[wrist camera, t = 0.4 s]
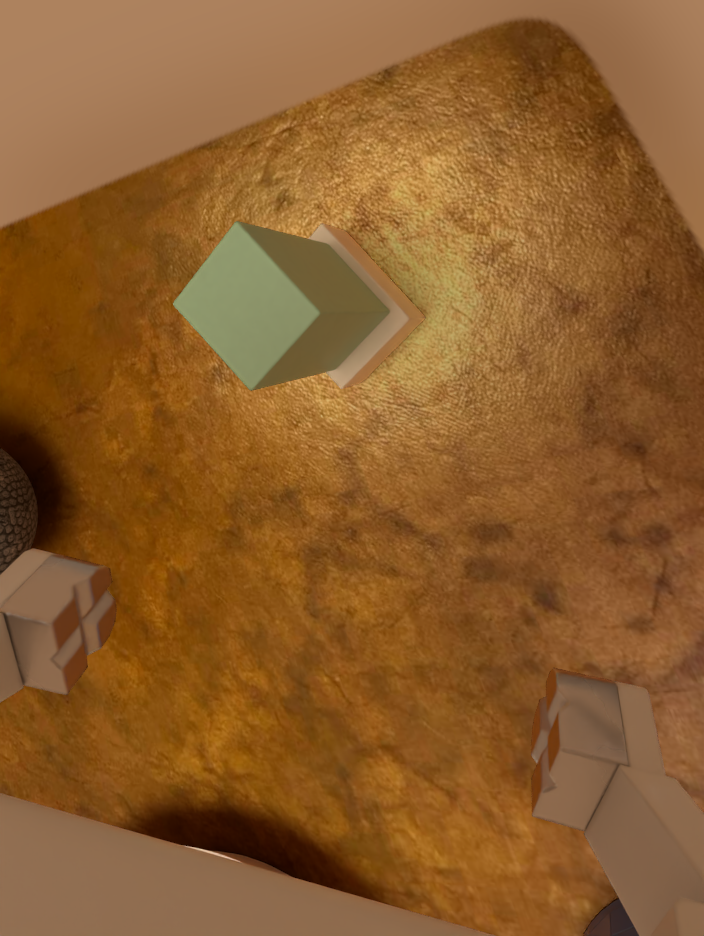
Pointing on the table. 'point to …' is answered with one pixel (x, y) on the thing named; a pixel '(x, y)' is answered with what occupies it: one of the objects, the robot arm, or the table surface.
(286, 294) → the green block on base
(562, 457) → the table surface
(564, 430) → the table surface
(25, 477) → the decorative ball
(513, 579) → the table surface
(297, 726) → the table surface
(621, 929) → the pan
